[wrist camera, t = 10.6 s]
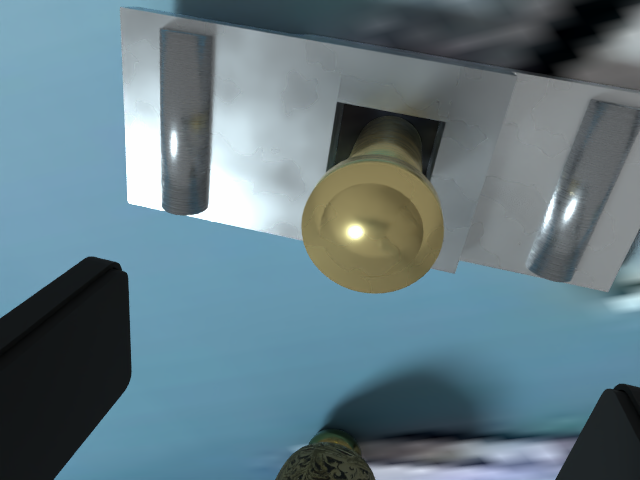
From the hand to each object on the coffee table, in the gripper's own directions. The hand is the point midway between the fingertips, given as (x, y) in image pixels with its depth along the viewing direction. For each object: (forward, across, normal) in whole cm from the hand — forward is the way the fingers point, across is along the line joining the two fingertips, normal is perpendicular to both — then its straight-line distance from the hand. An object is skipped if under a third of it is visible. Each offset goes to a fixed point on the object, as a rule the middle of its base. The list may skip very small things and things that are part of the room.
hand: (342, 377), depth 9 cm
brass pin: (+16, 0, 0) cm, 16 cm away
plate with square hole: (+16, 0, -1) cm, 16 cm away
